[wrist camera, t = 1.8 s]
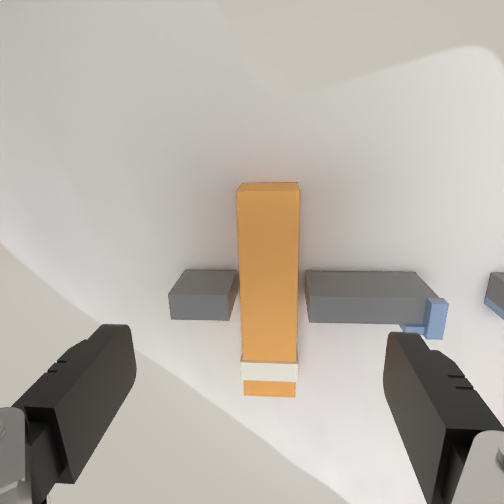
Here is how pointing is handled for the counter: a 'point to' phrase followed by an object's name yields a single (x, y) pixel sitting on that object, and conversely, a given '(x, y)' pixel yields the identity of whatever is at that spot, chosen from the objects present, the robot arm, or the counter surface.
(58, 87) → the counter surface
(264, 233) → the banded orange pillar
